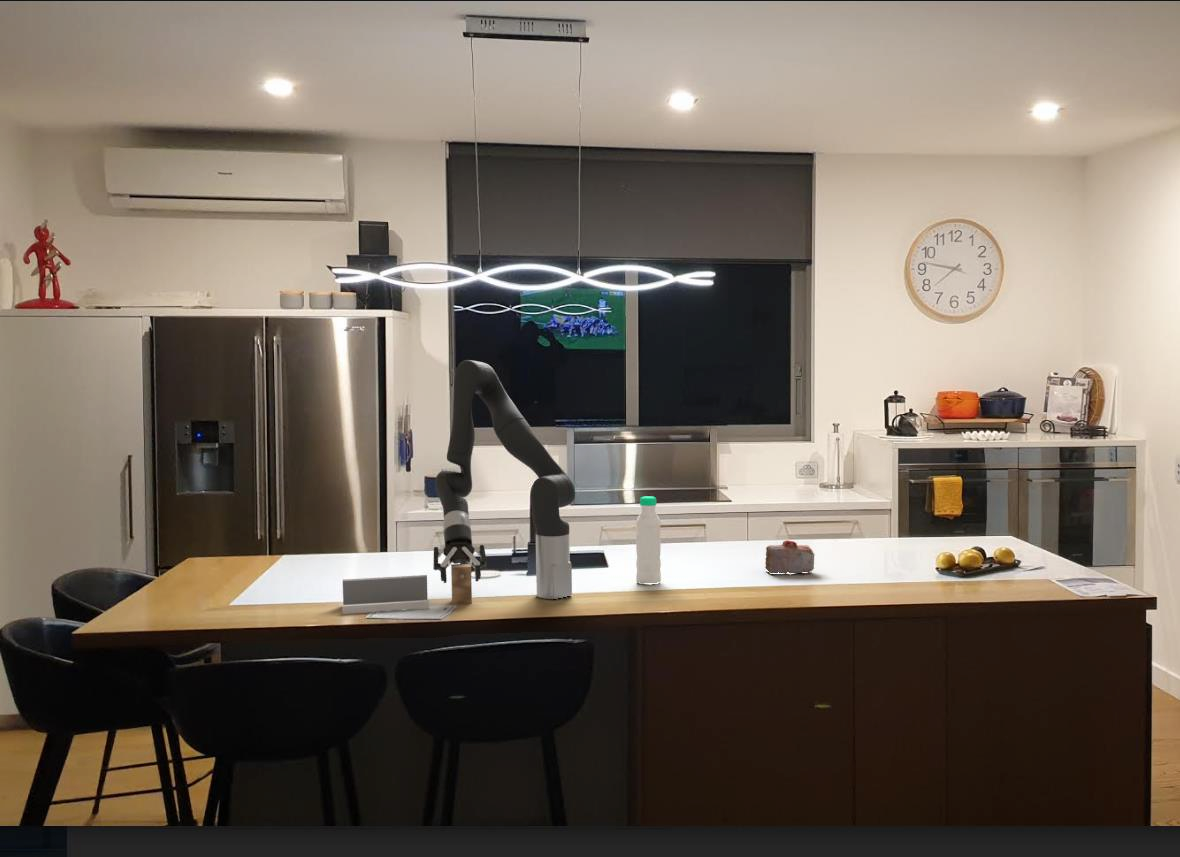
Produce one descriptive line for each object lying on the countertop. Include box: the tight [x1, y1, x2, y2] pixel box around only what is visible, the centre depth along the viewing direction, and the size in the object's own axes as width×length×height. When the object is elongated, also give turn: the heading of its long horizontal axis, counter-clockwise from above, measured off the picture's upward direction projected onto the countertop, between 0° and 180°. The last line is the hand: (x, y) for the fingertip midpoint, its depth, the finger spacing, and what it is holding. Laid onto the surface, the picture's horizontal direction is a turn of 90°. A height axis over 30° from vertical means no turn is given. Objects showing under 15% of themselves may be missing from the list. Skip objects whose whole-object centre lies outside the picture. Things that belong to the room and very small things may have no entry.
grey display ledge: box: [341, 574, 430, 615], centre depth 261 cm, size 22×9×7 cm, turn 102°
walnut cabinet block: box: [450, 563, 473, 605], centre depth 265 cm, size 5×5×10 cm
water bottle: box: [635, 495, 662, 583], centre depth 285 cm, size 7×7×25 cm
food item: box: [764, 540, 816, 573], centre depth 297 cm, size 14×8×10 cm, turn 95°
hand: (461, 580), depth 265 cm, fingers open, 8 cm apart
